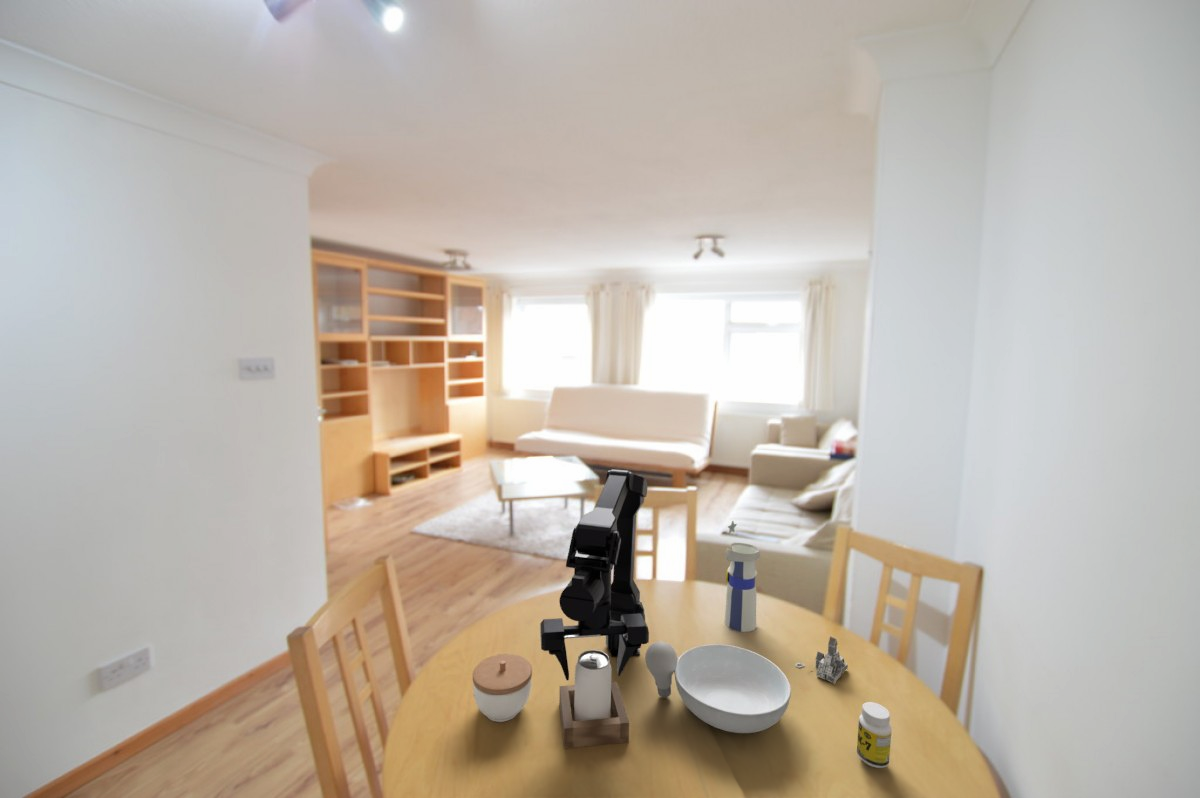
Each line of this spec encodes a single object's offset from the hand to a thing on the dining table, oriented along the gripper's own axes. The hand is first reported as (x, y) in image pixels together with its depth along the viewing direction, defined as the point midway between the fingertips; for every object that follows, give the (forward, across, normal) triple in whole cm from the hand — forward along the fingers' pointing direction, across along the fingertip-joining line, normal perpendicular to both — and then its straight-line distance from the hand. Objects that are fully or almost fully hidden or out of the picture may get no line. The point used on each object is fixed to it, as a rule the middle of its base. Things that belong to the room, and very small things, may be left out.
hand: (593, 676), depth 90 cm
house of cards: (+9, -52, -11) cm, 53 cm away
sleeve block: (+8, 0, 0) cm, 8 cm away
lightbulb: (+8, -15, -5) cm, 18 cm away
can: (+9, 0, 0) cm, 9 cm away
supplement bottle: (+9, -45, +14) cm, 48 cm away
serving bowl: (+9, -26, 0) cm, 27 cm away
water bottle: (+9, -41, -29) cm, 51 cm away
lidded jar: (+9, +16, -5) cm, 19 cm away
